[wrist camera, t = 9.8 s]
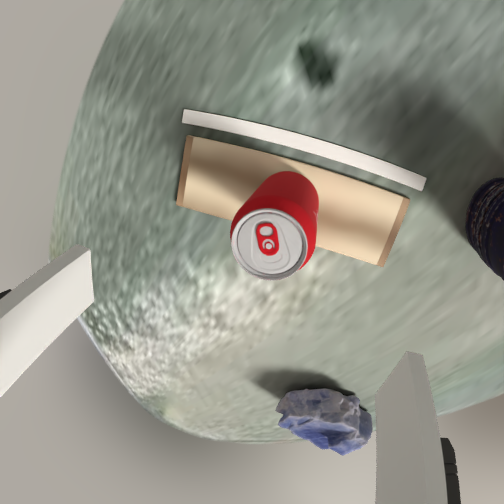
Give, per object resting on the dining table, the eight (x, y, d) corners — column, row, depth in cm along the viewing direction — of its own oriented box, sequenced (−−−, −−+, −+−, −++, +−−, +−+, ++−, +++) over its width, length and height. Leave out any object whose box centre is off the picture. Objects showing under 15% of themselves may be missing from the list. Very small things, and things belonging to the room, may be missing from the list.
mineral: (381, 449, 34) (330, 474, 38) (380, 404, 42) (336, 432, 46) (307, 401, 34) (259, 433, 38) (316, 357, 43) (274, 390, 47)
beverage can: (263, 230, 34) (232, 288, 23) (254, 173, 31) (214, 207, 21) (322, 226, 32) (318, 285, 21) (315, 166, 29) (310, 197, 19)
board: (189, 135, 31) (186, 135, 31) (408, 198, 29) (410, 200, 28) (178, 203, 35) (176, 204, 35) (382, 264, 33) (383, 267, 32)
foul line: (185, 109, 30) (184, 109, 30) (425, 177, 28) (426, 178, 27) (182, 122, 31) (181, 122, 31) (421, 190, 28) (421, 191, 28)
